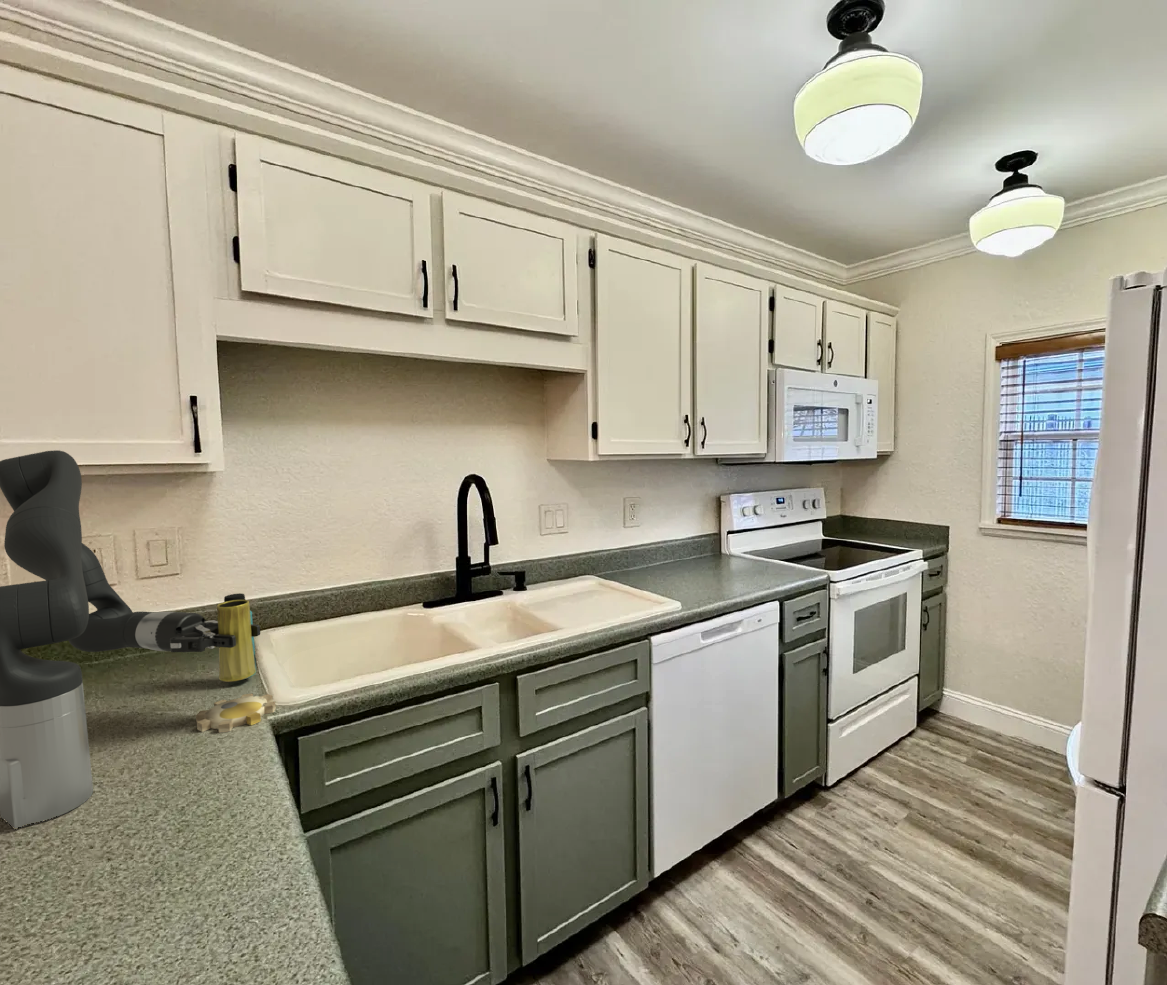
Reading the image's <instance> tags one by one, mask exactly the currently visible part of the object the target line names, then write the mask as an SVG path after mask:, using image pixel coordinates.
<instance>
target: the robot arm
mask: <svg viewBox="0 0 1167 985" xmlns="http://www.w3.org/2000/svg"><path fill="white" fill-rule="evenodd" d="M82 485H83V481H82V473H81V469H80V467H79V464H78V462H76V460H75V459H74V457H73V456H72V455H70V454H69V453H67V452H65V451H64V450H60V449H59V450H56V449H55V450H46V451H42V452H41V451H40V452H36V453H35V452H34V453H29V454H25V455H20V456H14V457H11V458H6V459H1V460H0V490H1V492H2V493H3V494H2V495H4V497H5V499H6V501H7V502H8V504H9V506H10V508H11V509H12V510H13V512H12V513H11V515H10V516H9V518H8V520H7V522H6V526H5V534H4V543H3V546H4V550H5V552H6V553H5V554H6V555H7V557H9V559H10V560H11V561H12V562H13V563H14V564H16V566H18V567H20V568H22V569H23V570H25V571H27V572H28V573H31V574H33V575H35V576H37V577H38V578H41V579H42V580H40V581H31V582H23V583H16V584H9V585H2V586H0V818H1V819H3V820H4V819H5V820H6V821H7V822H8V823H9V824H10V825H11V826H12V827H14V828H18V827H21V828H23V827H24V826H23V825H26V824H30V825H32V824H31V823H34V824H36V823H35V822H39V823H41V822H40V821H42V822H44V821H43V820H46V821H48V820H47V819H49V820H51V818H52V819H54V818H53V817H55V818H57V817H59V816H62V815H64V814H67V813H69V812H70V811H72V810H74V809H76V808H78V807H80V806H81V805H83V804H84V803H85V802H87V800H89V798H91V796H92V794H93V793H94V785H93V775H92V774H93V773H92V765H91V755H90V746H89V736H88V735H89V734H88V724H87V713H86V702H85V694H84V683H83V682H84V681H83V673H82V668H81V666H80V665H79V664H78V663H77V662H73V661H66V660H51V659H49V660H48V659H42V658H37V657H33V656H30V655H27V654H26V653H24V652H23V651H22V650H25V649H31V648H37V647H42V646H48V645H52V644H58V643H62V642H67V641H68V643H69V644H70V645H71V646H72V647H73V648H75V649H77V650H80V651H83V652H87V653H88V652H89V653H98V652H107V651H114V650H115V651H116V650H120V649H126V648H134V649H135V648H137V649H149V650H152V651H160V652H170V653H202V652H204V651H206V649H214V648H219V647H227V648H232V647H234V646H236V637H235V636H234V635H224V634H219V631H218V620H214V619H213V620H207V619H205V617H204V616H203V615H201V614H200V613H196V612H180V611H133V610H132V609H131V608H130V606H128V604H127V603H126V602H125V601H124V600H123V599H122V597H120V595H119V594H118V593H117V592H116V590H114V588H113V587H112V586H111V585H110V583H109V582H108V579H107V578H106V575H105V572H104V570H103V568H102V565H101V563H100V560H99V558H98V557H97V555H96V554H95V552H93V550H92V549H91V548H90V547H88V546H87V545H85V544H84V543H83V536H82V535H83V534H82V533H83V532H82V524H81V516H80V501H81V500H80V499H81V495H82V494H81V493H82ZM89 603H90V604H91V605H92V606H93V607H94V608H96V610H95V611H93V612H90V609H89V608H90V607H89V605H90V604H89ZM260 635H261V625H259V624H254V623H253V624H251V636H253V637H254V638H256V637H259V636H260ZM56 816H57V817H56ZM5 820H4V821H5ZM6 821H5V822H6ZM7 822H6V823H7ZM8 823H7V824H8ZM9 824H8V825H9ZM10 825H9V826H10ZM11 826H10V827H11ZM22 826H23V827H22ZM26 826H27V825H26ZM12 827H11V828H12Z"/></svg>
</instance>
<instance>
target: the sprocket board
mask: <svg viewBox="0 0 1167 985" xmlns="http://www.w3.org/2000/svg"><path fill="white" fill-rule="evenodd" d="M276 710H277V708H276V701H274V700H273V695H272V694H268V693H267V694H264V695H261V696H256V695H255V696H254V695H253V693H245V694H242V695H241V696H240V697H238V698H233V699H229V700H226V699H223V698H222V699H220V700H218V701H215V702H213V707H211V708H209V709H205V710H200V711H198V712H197V714H196V715H195V720H196V728H197V731H199V732H201V733H204V732H206V731H208V730H211V729H214V730H218V733H219V734H220V733H228V732H231V731H232V730H233V728H237V727H241V726H243V725H249V726H254V725H255V724H257V723H260V722H262V718H261V717H263V716H264V715H265V714H267V715H268V714H273V713H274V712H276Z"/></svg>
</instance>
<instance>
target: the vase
mask: <svg viewBox="0 0 1167 985" xmlns="http://www.w3.org/2000/svg"><path fill="white" fill-rule="evenodd" d="M250 607H251V605H250V601H249V600H247V599H245V600H232V601H227V602H224V601H223V602H221V603H219V604H217V606H216V612H217V621H218V631H219V634H224V635H234V636H235V637H236V646H234V647H232V648H227V647H218V668H219V669H218V672H219V674H218V679H219V681H221V682H225V683H226V682H229V683H230V682H237V681H241V680H245V678H246V679H249V678H251V677H253V676H254V675H253V674H255V672H256V673H257V668H255V661H254V653H253V645H252V636H251V620H250V611H251V609H250ZM252 675H253V676H252ZM255 675H256V674H255ZM250 676H251V677H250ZM248 677H249V678H248Z"/></svg>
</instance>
